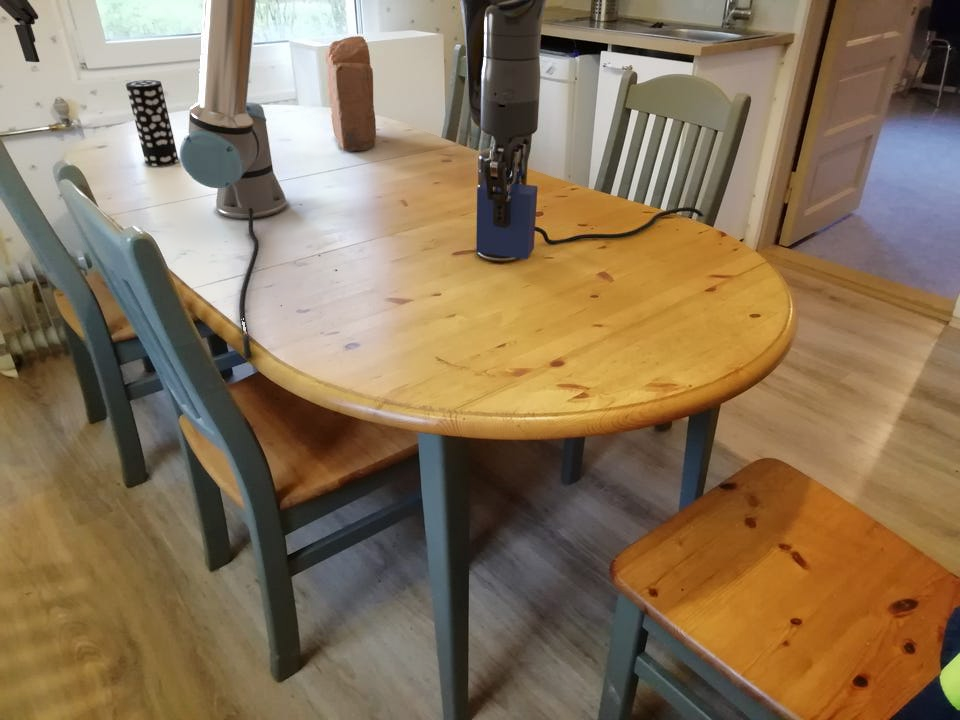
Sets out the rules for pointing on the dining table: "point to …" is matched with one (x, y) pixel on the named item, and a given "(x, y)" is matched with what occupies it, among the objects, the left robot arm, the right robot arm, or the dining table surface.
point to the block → (520, 229)
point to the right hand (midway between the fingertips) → (505, 219)
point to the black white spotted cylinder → (152, 122)
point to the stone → (351, 93)
